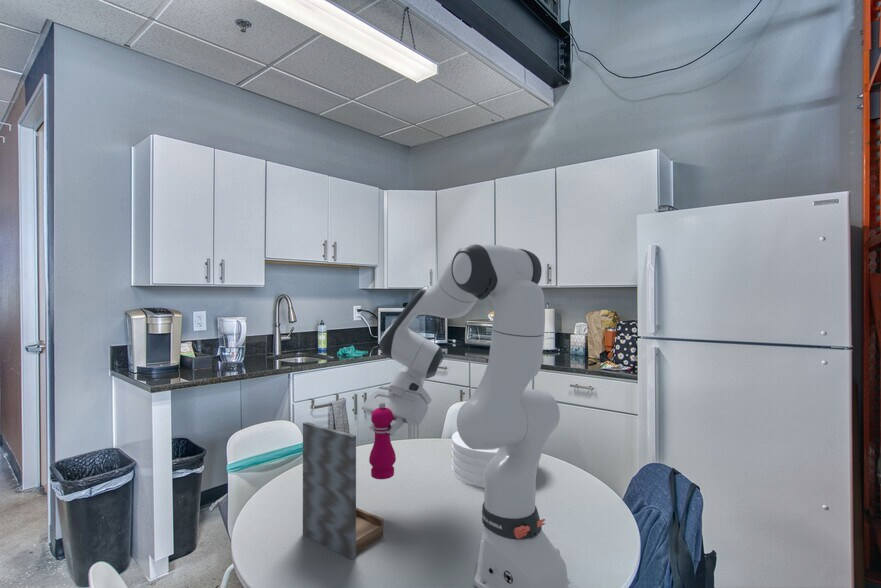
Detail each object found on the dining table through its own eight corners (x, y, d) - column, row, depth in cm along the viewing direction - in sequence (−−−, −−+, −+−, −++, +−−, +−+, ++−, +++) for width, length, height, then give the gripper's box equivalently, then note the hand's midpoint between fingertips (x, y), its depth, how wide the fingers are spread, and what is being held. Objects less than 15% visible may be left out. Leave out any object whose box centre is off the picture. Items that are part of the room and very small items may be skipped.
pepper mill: (364, 478, 120) (363, 404, 120) (377, 468, 127) (377, 398, 127) (388, 482, 118) (387, 406, 118) (400, 471, 124) (399, 400, 124)
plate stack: (486, 497, 133) (486, 458, 133) (436, 466, 157) (436, 433, 156) (552, 476, 148) (552, 441, 148) (497, 451, 172) (497, 421, 172)
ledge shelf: (385, 537, 111) (386, 425, 111) (352, 559, 102) (352, 436, 101) (337, 516, 121) (337, 413, 121) (302, 534, 112) (302, 423, 112)
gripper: (372, 379, 134) (348, 419, 126) (426, 387, 122) (403, 432, 114) (383, 391, 138) (360, 431, 130) (436, 400, 126) (414, 445, 118)
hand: (380, 432), depth 122 cm, fingers closed on pepper mill, 5 cm apart
